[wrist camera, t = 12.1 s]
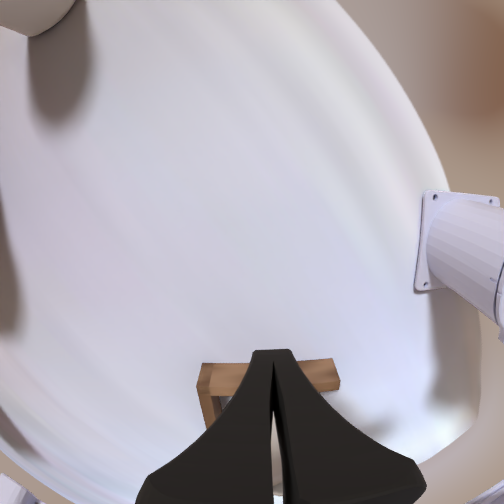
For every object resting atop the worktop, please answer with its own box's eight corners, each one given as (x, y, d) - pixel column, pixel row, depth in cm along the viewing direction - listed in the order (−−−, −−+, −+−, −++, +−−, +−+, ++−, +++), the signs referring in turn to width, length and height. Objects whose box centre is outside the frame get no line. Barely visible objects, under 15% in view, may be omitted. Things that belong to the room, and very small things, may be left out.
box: (332, 358, 22) (340, 380, 19) (318, 437, 25) (322, 458, 23) (202, 363, 22) (196, 386, 20) (218, 441, 26) (215, 462, 23)
